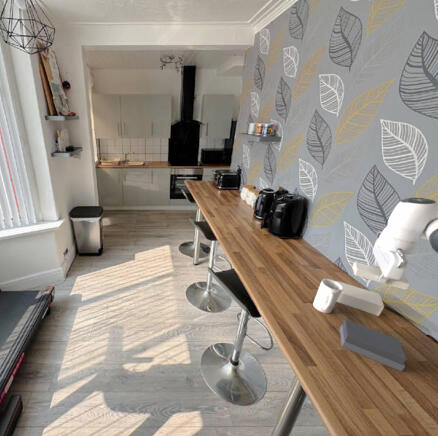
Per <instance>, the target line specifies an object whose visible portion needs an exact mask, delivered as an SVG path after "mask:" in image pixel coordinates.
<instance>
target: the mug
mask: <svg viewBox="0 0 438 436" xmlns="http://www.w3.org/2000/svg"><path fill="white" fill-rule="evenodd" d="M336 281H337V280H336ZM336 281H335V280H333V279H330V278H323V279H322V280H321V282H320V285H319V286H318V289H317V293H316V295H315V297H314V300H313V303H312V305H313V308H314V309H315V310H317V311H318V312H321V313H324V314H330V313H332V312H333V309H334V307H335V305H336V304H337V302H336V301H337V299H338V297H339V295H340V294H341V291H342V289H343V287H342V286H341V285H340V284H339V283H338V282H336Z"/></svg>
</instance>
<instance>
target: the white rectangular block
mask: <svg viewBox="0 0 438 436" xmlns="http://www.w3.org/2000/svg"><path fill="white" fill-rule="evenodd" d="M336 282H338V283H339V284H340V285H341V286H342V287H343V289H342V291H341V294H340V295H339V297H338V299H337V301H336V303H339V304H342V305H344V306H348V307H351V308H354V309H357V310H359V311H363V312H365V313H368V314H371V315H373V316H377V317H379V316H380V315H381V314H382V312H383V310H384V308H385V304H384V303H383V300H382V297H381V295H380V293H378V292H374V291H372V290H368V289H365V288H361V287H358V286H355V285H351V284H348V283H346V282H342V281H339V280H336Z"/></svg>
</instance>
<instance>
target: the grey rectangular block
mask: <svg viewBox="0 0 438 436" xmlns="http://www.w3.org/2000/svg"><path fill="white" fill-rule="evenodd" d="M339 335H340V345H341V347H342V348H344V349H346V350H349V351H350V352H353V353H356V354H358V355H360V356H363V357H365V358H367V359H370V360H372V361H375V362H377V363H380V364H381V365H384V366H387V367H389V368H391V369H394V370H396V371H399V372H403V370H404V369H405V367H406V365H405V362H406V361H407V356H406V354H405V351H404V349H403V346H402V344H401V341H400V339H399V338H397V337H395V336H391V335H388V334H385V333H383V332H380V331H378V330H375V329H372V328H370V327H367V326H364V325H361V324H359V323H356V322H354V321H351V320H347V319H344V320H343V322H342V323H341V326H340V327H339Z"/></svg>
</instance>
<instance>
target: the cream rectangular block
mask: <svg viewBox="0 0 438 436" xmlns="http://www.w3.org/2000/svg"><path fill="white" fill-rule="evenodd" d="M352 271H353V274H354V276H355V277H359V278H363V279H366V280H370V281H373V282H377V283H380V282H379V281H378V278H379V276H381V275H382V271H381V269H380V268H377V267H374V265H373V266H372V265H369V264H365V263H361V262H358V261H354V262H353V265H352ZM383 284H384V285H387V286H391V287H394V288H398V289H402V290H405V291H407V290H408V288H409V286H410V284H411V283H410V282H409V281H408V278H406V276H405V274H403V275H402V277H401V279H400V280H398V281H396V280H392V279H388V280H387V281H386V283H382V285H383Z"/></svg>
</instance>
